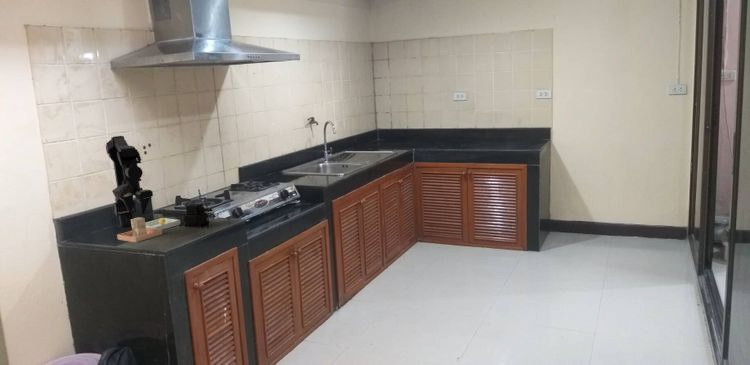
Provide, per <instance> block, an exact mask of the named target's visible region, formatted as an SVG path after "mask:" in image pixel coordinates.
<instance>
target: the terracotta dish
mask: <svg viewBox="0 0 750 365" xmlns="http://www.w3.org/2000/svg"><path fill="white" fill-rule="evenodd" d="M146 231H147V234H145V235H142V236H138V237H133V231H132V230H130V231H126V232H122V233H118V234H116V237H117V240H119V241H124V242H131V243H139V242H142V241H145V240H148V239H152V238H156V237H159V236H160V235H161V236H162V235H163V230H161V229H153V228H146Z"/></svg>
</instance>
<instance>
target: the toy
mask: <svg viewBox="0 0 750 365" xmlns="http://www.w3.org/2000/svg"><path fill="white" fill-rule="evenodd" d="M185 210H186V214H185V215H184V216H183V222H184V224H183V226H184V227H185V228H197V229H201V227H202V226H206V227H207V226H208V225H209V224H210V221H208V218H209V215H208V213H207V212H213V209H212V208H205V206H203V203H191V204H188V205H186V206H185Z"/></svg>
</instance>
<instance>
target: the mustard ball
mask: <svg viewBox="0 0 750 365" xmlns="http://www.w3.org/2000/svg"><path fill="white" fill-rule="evenodd" d="M160 218H161V219H160ZM160 218H158V219H159V224H161V225H163V224H165V222H166V221H165V219H164V218H165V217H160Z"/></svg>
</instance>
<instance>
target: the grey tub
mask: <svg viewBox="0 0 750 365" xmlns="http://www.w3.org/2000/svg"><path fill="white" fill-rule="evenodd" d="M161 218H162V217H160V218H157V219H153V220H150V221H145V225H146V228H153V229H161V230H162V231H163V230H166V229H171V228H173V227H176V226H180V225H181V219H176V218H168V217H167V218H166V217H163V218H164V219H165V221H166V222H165V224H163V225H161V224H159V219H161Z"/></svg>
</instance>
